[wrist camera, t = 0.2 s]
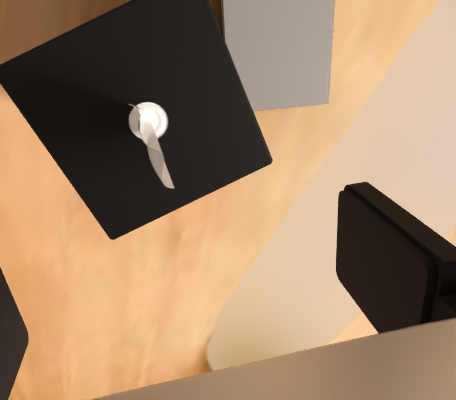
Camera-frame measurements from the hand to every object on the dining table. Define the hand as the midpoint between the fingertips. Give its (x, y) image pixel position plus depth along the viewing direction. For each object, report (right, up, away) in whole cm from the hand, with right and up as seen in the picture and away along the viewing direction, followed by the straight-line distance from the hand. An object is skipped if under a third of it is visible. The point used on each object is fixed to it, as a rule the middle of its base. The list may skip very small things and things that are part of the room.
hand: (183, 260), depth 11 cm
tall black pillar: (-7, +15, +26) cm, 31 cm away
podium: (+5, +17, +28) cm, 33 cm away
